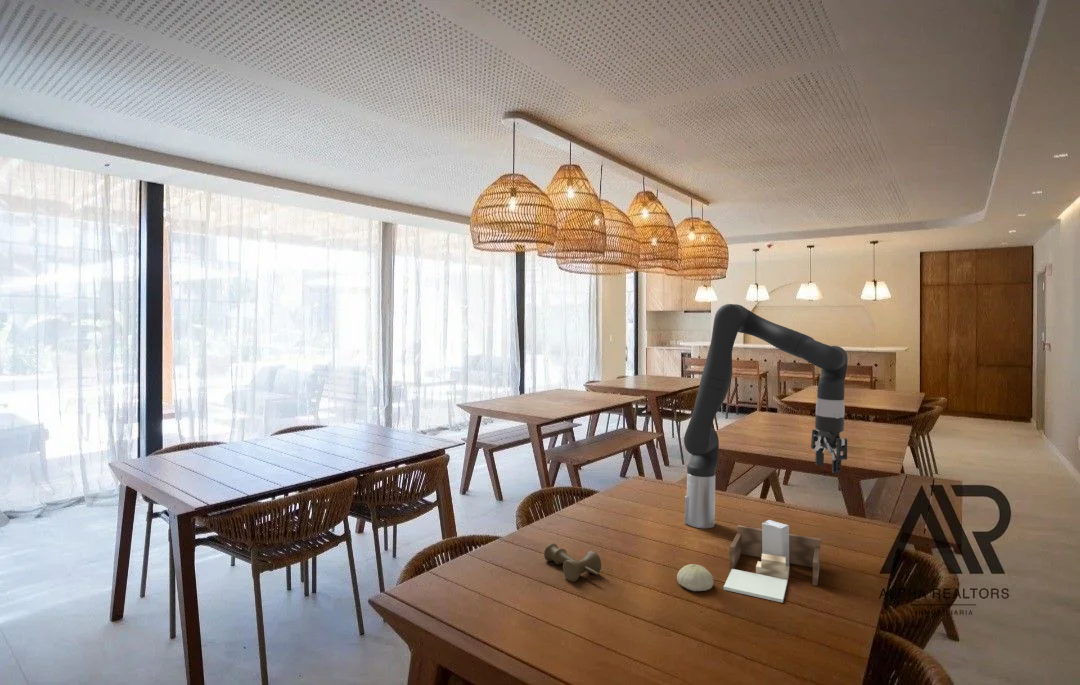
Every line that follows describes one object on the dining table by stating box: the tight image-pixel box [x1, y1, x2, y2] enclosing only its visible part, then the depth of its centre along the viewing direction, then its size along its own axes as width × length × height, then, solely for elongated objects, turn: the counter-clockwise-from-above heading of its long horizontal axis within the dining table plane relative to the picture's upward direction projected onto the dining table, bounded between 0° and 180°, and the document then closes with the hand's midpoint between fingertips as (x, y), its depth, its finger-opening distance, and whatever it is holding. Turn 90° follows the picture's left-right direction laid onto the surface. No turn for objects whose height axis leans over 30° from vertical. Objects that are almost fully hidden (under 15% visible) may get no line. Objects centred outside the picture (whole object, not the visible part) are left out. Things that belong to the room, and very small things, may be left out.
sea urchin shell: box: [676, 563, 714, 592], centre depth 147 cm, size 9×8×8 cm
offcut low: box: [755, 560, 790, 581], centre depth 154 cm, size 8×4×2 cm, turn 62°
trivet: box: [723, 568, 789, 604], centre depth 147 cm, size 14×12×1 cm
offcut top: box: [760, 554, 786, 572], centre depth 154 cm, size 6×4×2 cm, turn 67°
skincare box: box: [761, 519, 790, 568], centre depth 159 cm, size 6×4×12 cm
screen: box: [729, 524, 821, 587], centre depth 158 cm, size 22×13×8 cm, turn 62°
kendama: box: [543, 542, 602, 583], centre depth 155 cm, size 6×10×20 cm
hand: (827, 468), depth 167 cm, fingers open, 8 cm apart
